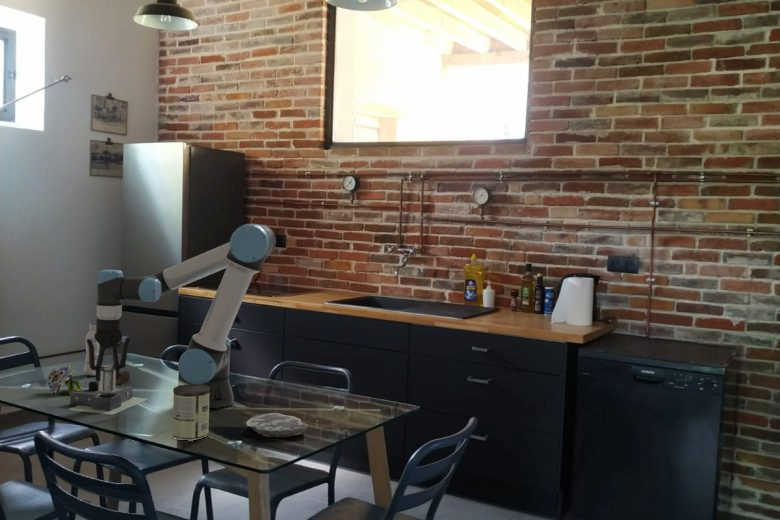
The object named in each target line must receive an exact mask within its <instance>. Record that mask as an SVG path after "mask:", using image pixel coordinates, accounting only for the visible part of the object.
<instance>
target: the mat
mask: <svg viewBox="0 0 780 520" xmlns="http://www.w3.org/2000/svg"><path fill="white" fill-rule="evenodd" d="M147 400H149V398H146V397H145V398H143V397H134V396H132V398H131V399H128V400H126V401H123V402H121V407H119V408H117V409H114V410H112V411H103V410H93V407H88V406H79V405H75V406H74V407H70V408H68V411H77V412H86V413H94V414H95V413H96V414H101V415H103V414H104V415H112V416H113V415H115V414H118V413H119V412H122V411H124V410H127V409H130V408H131V407H134V406H136V405H138V404H141V403H143V402H146V401H147Z"/></svg>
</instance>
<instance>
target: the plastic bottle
mask: <svg viewBox="0 0 780 520" xmlns="http://www.w3.org/2000/svg"><path fill="white" fill-rule="evenodd" d="M88 330H89V331H88V332H87V333H86V335H85V337H84V343H85V353H86V354H85V361H84V362H85V363H84V366H83V372H84V373H83V374H84V375H86V376H91V377H96V371H95V370H92V369H91V368H90V365H89V349H88V344H87V342H86V339H87V338H92V337H94V335H95V333H96V323H89V324H88ZM93 346H94V359H95V366H96V363H97V358H98V353H99V346H100V344H99V343H98V342H97V341H96V340H95V343H94V344H93Z"/></svg>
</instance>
